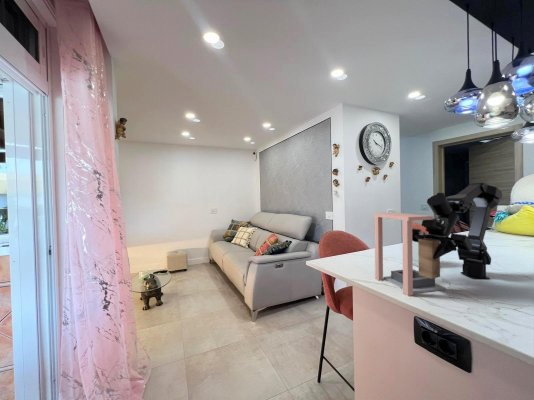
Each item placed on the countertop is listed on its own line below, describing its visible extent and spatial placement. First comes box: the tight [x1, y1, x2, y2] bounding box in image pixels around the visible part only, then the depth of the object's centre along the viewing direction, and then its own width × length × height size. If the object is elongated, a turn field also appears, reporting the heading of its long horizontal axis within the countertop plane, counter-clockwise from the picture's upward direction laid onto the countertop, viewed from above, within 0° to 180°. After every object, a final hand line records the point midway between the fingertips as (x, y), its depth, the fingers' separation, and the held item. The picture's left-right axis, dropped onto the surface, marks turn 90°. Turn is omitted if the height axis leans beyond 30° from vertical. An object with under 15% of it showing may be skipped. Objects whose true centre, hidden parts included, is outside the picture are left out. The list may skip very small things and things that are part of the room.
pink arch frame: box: [373, 212, 434, 297], centre depth 82 cm, size 10×17×27 cm, turn 12°
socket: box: [383, 268, 446, 295], centre depth 83 cm, size 14×14×4 cm
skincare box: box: [412, 241, 419, 268], centre depth 104 cm, size 8×6×15 cm
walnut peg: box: [418, 238, 441, 279], centre depth 76 cm, size 4×4×13 cm
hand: (426, 256), depth 76 cm, fingers closed on walnut peg, 4 cm apart
